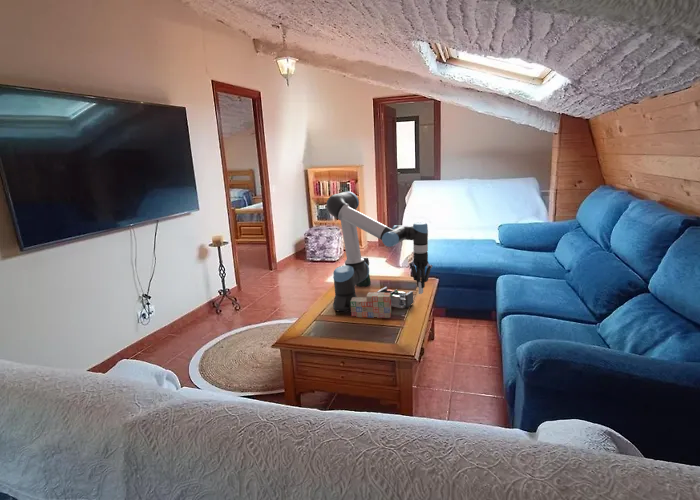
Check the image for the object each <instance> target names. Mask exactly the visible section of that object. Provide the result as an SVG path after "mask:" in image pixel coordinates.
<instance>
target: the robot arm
mask: <svg viewBox="0 0 700 500" xmlns="http://www.w3.org/2000/svg"><path fill="white" fill-rule="evenodd" d="M359 203H360V201H359V197H358V196H357V195H356V194H355V193H354V192H352V191H343V192H339V193H335V194H332V195H330V196H329V198H328V199H327V200H326V210H327V212H328V213H329V214H330V215H331V216H333V217H334V218H335V219H338V220H340V225H341V232H342V237H343V238H342V239H343V244H344V249H345V256H346V259H345V261H344V264H345V265H341V266H338V267H336V268H335V269H334V270H333V277H332V278H333V284H334V286H333V287H334V299H333V304H332V306H333V310H334V311H336V310H339V311H347V310H351V305H350V301H351V299H352V297H358V296H357V294H356V286H357V284H358V283H360V282H362V281H364V280H365V279H366V278H367V277H368V275H370V267H368V265H367V264H366V262H364V259H363V258H364V257H362V255H361V247H360V240H359V235H358V229H360V230H362V231H364V232H366V233H368V234H370V235H371V236H373V237H375V238H377V239H378V240H381V241H382V244H384V246H385V247H389V248H391V247H394V246H396V245H398V244H399V243H401V242H403V241H412V242H413V243H412V244H413V260H412V261H411V262H410V263H408V264H409V267H410V269H411V273H412V278H413V281H416V288H418V295H422V294H423V293H424V289H425V287H426V286H425V285H426V283H427V282H428V281H429V278H430V274H431V271H432V268H433V265H432V264H430V263H429V252H428V251H429V250H428V249H429V246H428V245H429V240H428V239H429V238H428V237H429V228H428V223H426V222H423V221H421V222H414V223H413V224H412V225H402V224H398V225H397V224H396V225H393V226H392V228H391V227H388V226H387V225H385V224H383V223H381V222H379V221H378V220H375V219H373V218H372V217H369V216H367V215H366V214H364V213H362V212H360V211H358V210H357V209H358V207H359ZM339 311H338V312H339Z"/></svg>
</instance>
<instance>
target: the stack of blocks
mask: <svg viewBox="0 0 700 500" xmlns="http://www.w3.org/2000/svg"><path fill="white" fill-rule="evenodd" d="M350 305H351V311H350V312H351V313H350V314H351V316H350V317H352V316H356V317H355V318H374V317H377V318H378V319H391V317H392V306H391V293H385V292H377V291H375V292H374V291H373V292H367V294H366V297H361V296H360V297H358V296H357V297H352V299H351V301H350Z"/></svg>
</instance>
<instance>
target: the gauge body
mask: <svg viewBox="0 0 700 500" xmlns="http://www.w3.org/2000/svg"><path fill="white" fill-rule="evenodd" d="M394 290H395V289H388V287H387V286H384V287H382V288H380V289H379V290H378V291H376V292H385V293H391V292H392V291H394ZM405 294H407V292H406V291H399V290H397V291H395V295H393V294H391V307H394V308H398V309H403V308H404V309H405V308H406V304H401V300H400V297H405Z"/></svg>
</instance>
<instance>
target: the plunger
mask: <svg viewBox="0 0 700 500" xmlns="http://www.w3.org/2000/svg"><path fill="white" fill-rule="evenodd" d="M393 290H394V291H392V292H391V294H393V295H395V291H399V288H396V289H393ZM400 300H401V304H406V307H405V308H406V309H408V308H409V306H410V305H411V304H412V303H413V304H414V292H413V291H411V290H410V291H408V292H406V294H405V297H400ZM411 306H412V305H411ZM411 306H410V307H411Z"/></svg>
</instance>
